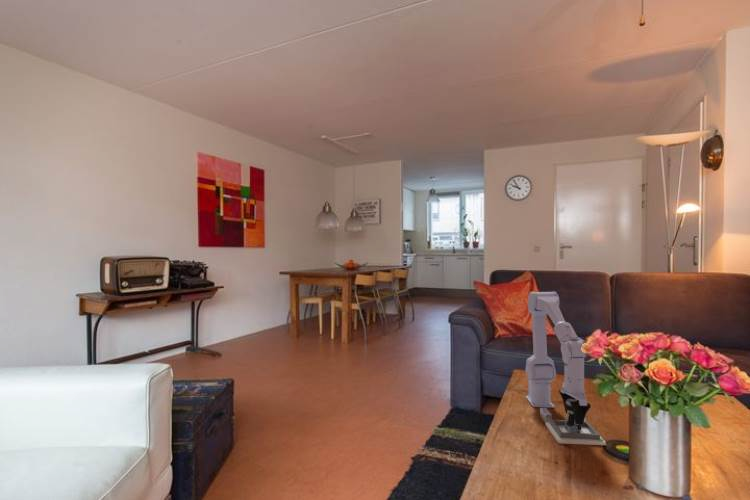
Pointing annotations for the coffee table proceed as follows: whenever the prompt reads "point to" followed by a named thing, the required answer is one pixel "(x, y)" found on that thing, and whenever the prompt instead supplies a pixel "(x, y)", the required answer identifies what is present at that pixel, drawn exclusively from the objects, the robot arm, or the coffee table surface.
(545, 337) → the robot arm
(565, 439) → the port dock
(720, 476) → the coffee table surface
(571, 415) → the push button
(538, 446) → the coffee table surface
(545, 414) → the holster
